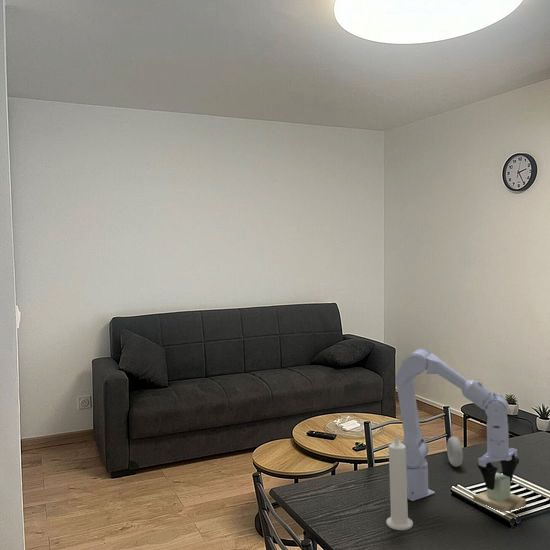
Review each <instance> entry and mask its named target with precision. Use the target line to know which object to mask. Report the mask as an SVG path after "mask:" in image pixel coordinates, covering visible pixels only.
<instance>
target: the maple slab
mask: <svg viewBox="0 0 550 550" xmlns="http://www.w3.org/2000/svg"><path fill="white" fill-rule="evenodd" d="M472 497H473V501H476V502H479V503H481V504H484V505H487V506H489V507H491V508H493V509H495V510H498V511H500V512H505V511H511V510H515V509H519V508H521V507H524V506H526V505H527V500H526V498H524V497H521V496H519V495H517V494H514V493H512V492H510V498H508V499H506V500H504V501H501V502H500V501H497V500H495V499H492V498H490V497H487V490H485V491H482V492H480V493H477V494H474V495H472ZM526 507H527V506H526Z"/></svg>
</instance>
